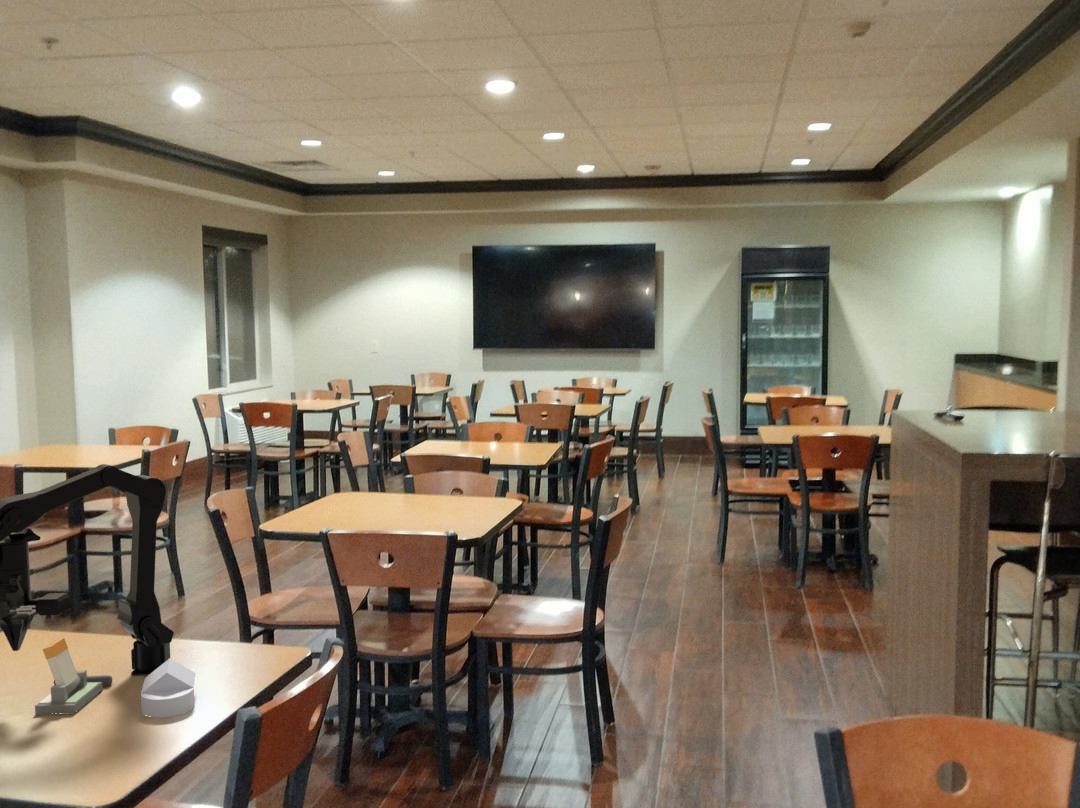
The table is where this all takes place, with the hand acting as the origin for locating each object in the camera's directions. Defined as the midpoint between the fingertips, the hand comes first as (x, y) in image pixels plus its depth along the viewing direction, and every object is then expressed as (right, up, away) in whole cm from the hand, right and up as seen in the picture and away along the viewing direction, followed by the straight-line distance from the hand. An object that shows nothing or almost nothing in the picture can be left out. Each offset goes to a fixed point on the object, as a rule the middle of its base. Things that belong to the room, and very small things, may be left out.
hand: (16, 650), depth 185 cm
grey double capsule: (+8, -9, +10) cm, 16 cm away
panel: (+10, -10, +1) cm, 14 cm away
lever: (+10, -7, +1) cm, 12 cm away
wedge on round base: (+29, -10, -1) cm, 30 cm away
